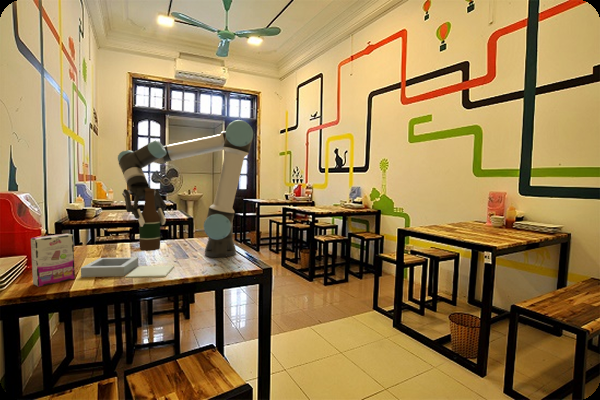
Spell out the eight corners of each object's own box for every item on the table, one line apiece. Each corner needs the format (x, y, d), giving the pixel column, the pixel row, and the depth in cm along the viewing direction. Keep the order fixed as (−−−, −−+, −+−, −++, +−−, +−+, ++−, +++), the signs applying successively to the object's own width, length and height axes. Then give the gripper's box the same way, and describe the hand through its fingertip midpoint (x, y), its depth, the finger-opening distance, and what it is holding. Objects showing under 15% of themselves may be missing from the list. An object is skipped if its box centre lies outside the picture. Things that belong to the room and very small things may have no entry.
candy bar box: (69, 276, 117) (68, 233, 116) (75, 278, 114) (74, 234, 113) (31, 284, 107) (30, 237, 106) (37, 287, 105) (35, 239, 104)
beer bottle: (144, 252, 118) (144, 188, 117) (135, 249, 123) (134, 188, 121) (164, 248, 124) (164, 188, 123) (154, 246, 129) (154, 188, 128)
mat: (174, 266, 132) (174, 265, 132) (165, 276, 119) (165, 275, 118) (139, 267, 130) (139, 266, 130) (125, 277, 116) (125, 276, 116)
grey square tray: (138, 265, 133) (138, 257, 133) (124, 275, 119) (124, 266, 118) (100, 266, 131) (100, 257, 131) (81, 277, 116) (80, 267, 116)
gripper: (157, 187, 140) (175, 227, 130) (106, 187, 125) (122, 232, 115) (163, 175, 136) (181, 215, 127) (111, 173, 121) (128, 219, 111)
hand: (153, 223), depth 121 cm, fingers closed on beer bottle, 7 cm apart
